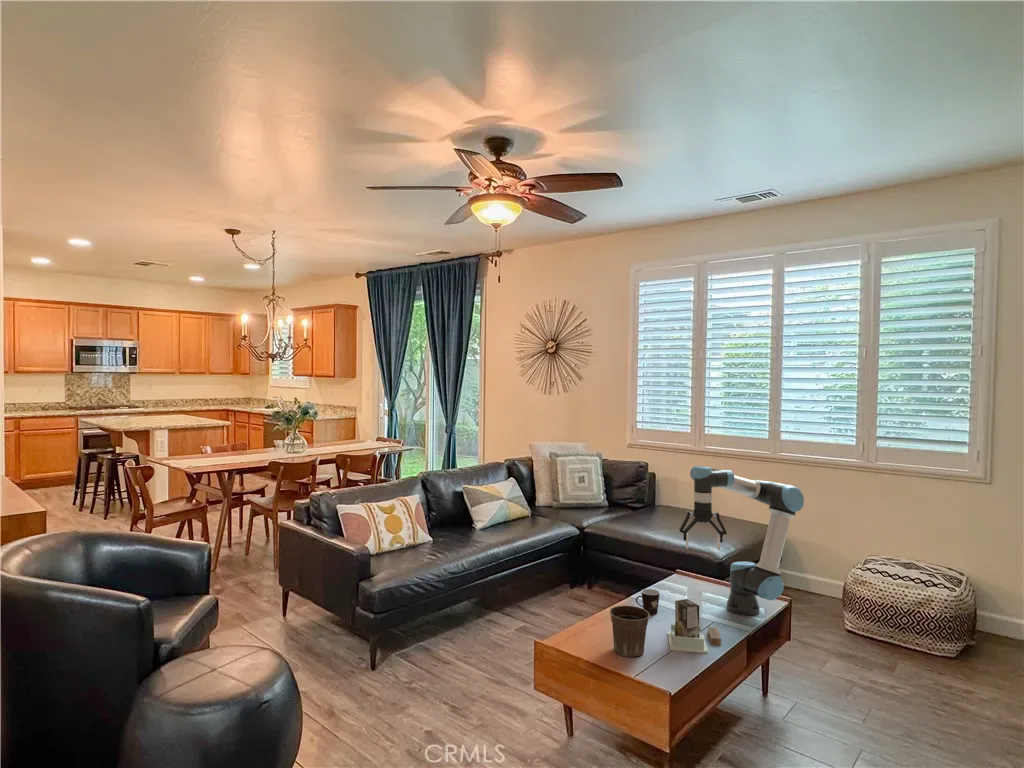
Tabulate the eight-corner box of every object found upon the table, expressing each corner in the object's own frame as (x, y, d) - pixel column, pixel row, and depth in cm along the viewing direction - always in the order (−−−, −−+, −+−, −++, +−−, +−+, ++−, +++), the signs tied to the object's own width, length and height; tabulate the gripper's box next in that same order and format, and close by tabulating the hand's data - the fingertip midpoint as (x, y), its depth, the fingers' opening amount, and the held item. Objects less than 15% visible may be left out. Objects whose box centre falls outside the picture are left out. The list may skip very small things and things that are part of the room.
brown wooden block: (717, 634, 268) (717, 627, 268) (721, 645, 257) (721, 638, 257) (708, 633, 269) (708, 626, 269) (711, 645, 257) (711, 638, 257)
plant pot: (649, 645, 257) (649, 607, 257) (649, 662, 241) (649, 621, 241) (610, 641, 260) (610, 603, 260) (608, 657, 245) (608, 617, 245)
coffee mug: (658, 609, 297) (658, 589, 297) (660, 616, 288) (660, 595, 288) (634, 608, 298) (634, 588, 298) (636, 615, 289) (636, 594, 289)
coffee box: (700, 644, 255) (700, 605, 255) (686, 646, 253) (687, 607, 253) (687, 635, 264) (687, 598, 264) (674, 637, 262) (674, 600, 262)
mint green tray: (703, 636, 265) (703, 624, 265) (707, 653, 249) (707, 641, 249) (667, 633, 268) (667, 622, 268) (670, 650, 252) (670, 638, 252)
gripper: (730, 500, 273) (730, 547, 273) (673, 498, 278) (673, 544, 278) (733, 504, 266) (733, 552, 266) (674, 501, 271) (674, 549, 271)
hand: (702, 548), depth 272 cm, fingers open, 13 cm apart
